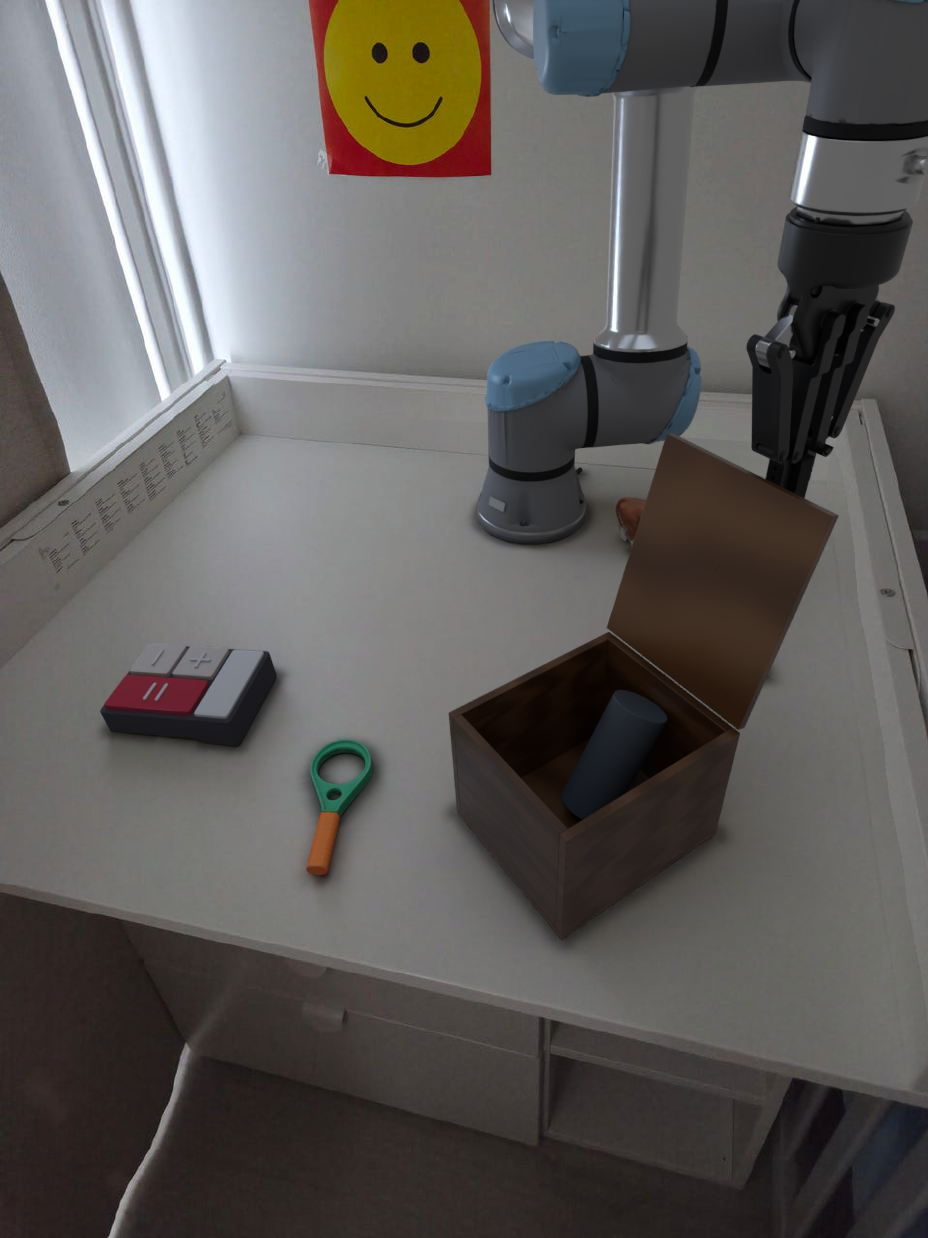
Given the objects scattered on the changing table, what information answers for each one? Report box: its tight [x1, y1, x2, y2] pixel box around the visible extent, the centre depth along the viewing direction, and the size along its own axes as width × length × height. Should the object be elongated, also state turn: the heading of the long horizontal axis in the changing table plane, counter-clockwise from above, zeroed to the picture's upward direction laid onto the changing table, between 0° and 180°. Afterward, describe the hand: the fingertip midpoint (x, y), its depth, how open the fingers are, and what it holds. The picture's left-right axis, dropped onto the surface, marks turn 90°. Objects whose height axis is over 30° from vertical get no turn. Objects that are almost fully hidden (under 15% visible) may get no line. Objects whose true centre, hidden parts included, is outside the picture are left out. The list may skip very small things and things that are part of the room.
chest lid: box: [606, 433, 840, 731], centre depth 64 cm, size 18×16×1 cm
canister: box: [561, 690, 667, 820], centre depth 71 cm, size 5×5×11 cm
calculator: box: [99, 642, 278, 747], centre depth 88 cm, size 11×4×15 cm
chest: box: [448, 631, 741, 940], centre depth 70 cm, size 18×16×13 cm
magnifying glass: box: [305, 738, 374, 876], centre depth 76 cm, size 15×6×2 cm, turn 176°
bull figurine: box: [615, 496, 646, 548], centre depth 104 cm, size 4×13×8 cm, turn 58°
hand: (777, 524), depth 66 cm, fingers closed
